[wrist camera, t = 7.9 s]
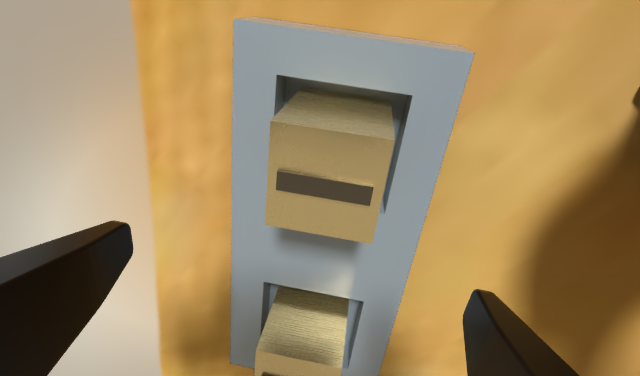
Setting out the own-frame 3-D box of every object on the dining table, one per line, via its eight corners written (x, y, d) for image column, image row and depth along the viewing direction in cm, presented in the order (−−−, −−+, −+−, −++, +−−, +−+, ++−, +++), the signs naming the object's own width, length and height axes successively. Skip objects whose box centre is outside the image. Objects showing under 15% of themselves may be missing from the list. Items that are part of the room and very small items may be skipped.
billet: (390, 99, 18) (395, 142, 12) (374, 180, 20) (371, 246, 14) (302, 86, 18) (268, 122, 13) (295, 167, 20) (263, 227, 15)
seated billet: (350, 285, 23) (341, 371, 18) (340, 333, 25) (329, 424, 20) (283, 272, 24) (254, 353, 18) (279, 321, 26) (251, 406, 20)
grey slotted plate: (254, 16, 18) (233, 18, 15) (460, 45, 17) (474, 53, 15) (244, 329, 28) (230, 363, 26) (373, 356, 27) (372, 394, 25)
